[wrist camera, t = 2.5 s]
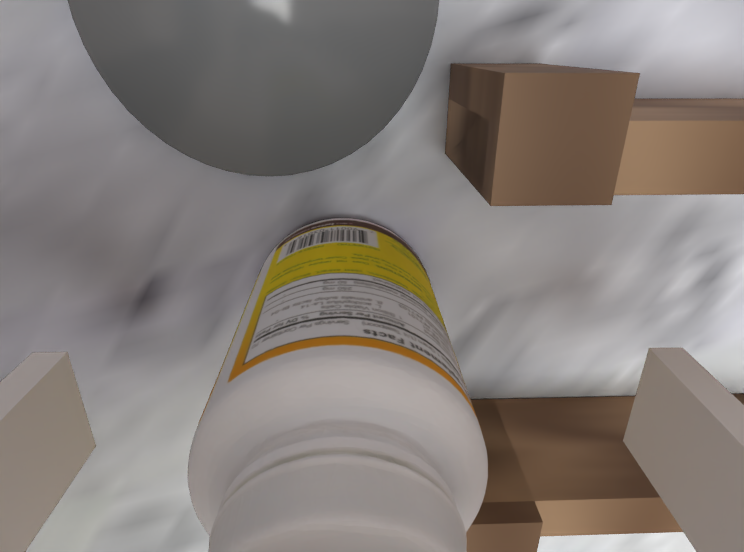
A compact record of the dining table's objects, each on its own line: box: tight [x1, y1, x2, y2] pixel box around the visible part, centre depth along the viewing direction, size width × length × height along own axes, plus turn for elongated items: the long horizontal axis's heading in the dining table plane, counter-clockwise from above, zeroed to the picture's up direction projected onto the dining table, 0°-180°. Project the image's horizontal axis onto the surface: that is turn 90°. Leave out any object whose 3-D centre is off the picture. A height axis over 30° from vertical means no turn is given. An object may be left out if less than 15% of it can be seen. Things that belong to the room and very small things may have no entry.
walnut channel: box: [445, 63, 744, 552], centre depth 14 cm, size 12×14×5 cm
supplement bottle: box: [188, 218, 488, 552], centre depth 12 cm, size 6×6×10 cm
